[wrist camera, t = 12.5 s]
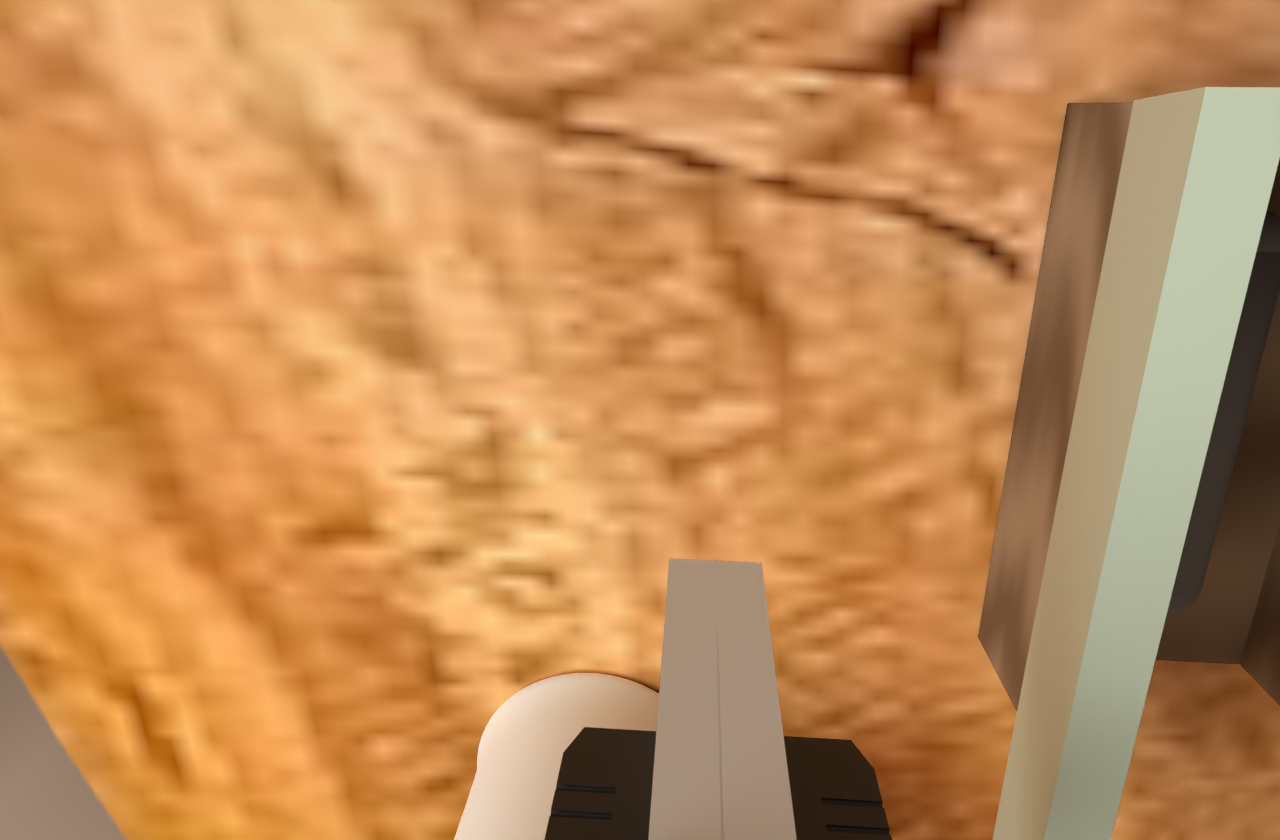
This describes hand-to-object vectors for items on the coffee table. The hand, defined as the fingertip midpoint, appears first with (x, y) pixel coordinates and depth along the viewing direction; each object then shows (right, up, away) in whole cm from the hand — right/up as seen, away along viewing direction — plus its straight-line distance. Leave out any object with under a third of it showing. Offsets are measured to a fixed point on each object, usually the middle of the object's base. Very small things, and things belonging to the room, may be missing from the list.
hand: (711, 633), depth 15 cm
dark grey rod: (+15, +4, +11) cm, 19 cm away
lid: (+8, -3, +3) cm, 9 cm away
